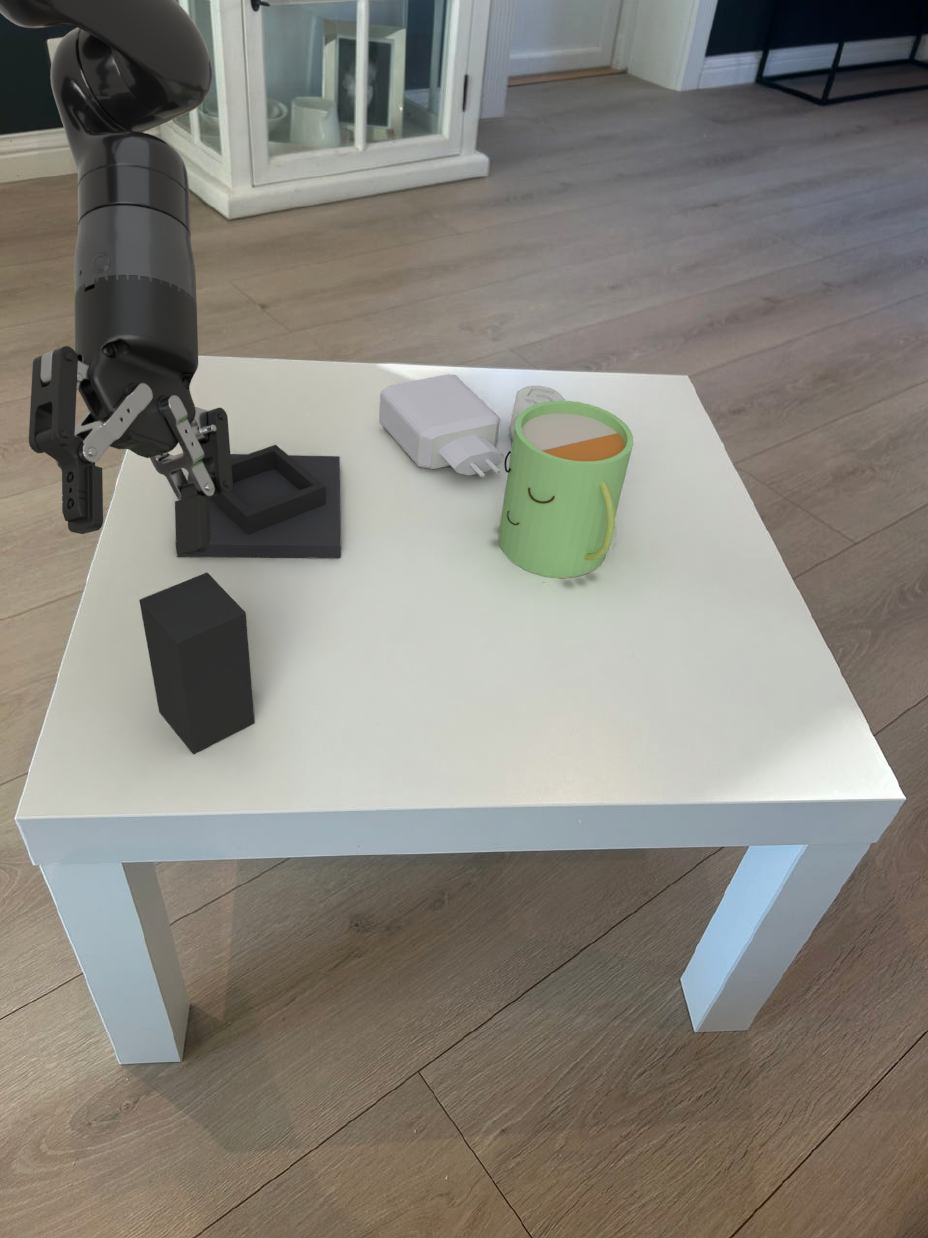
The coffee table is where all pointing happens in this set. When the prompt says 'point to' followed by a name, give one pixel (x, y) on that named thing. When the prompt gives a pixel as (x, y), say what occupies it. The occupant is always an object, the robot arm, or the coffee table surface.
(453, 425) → the charger
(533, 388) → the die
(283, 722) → the coffee table surface
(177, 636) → the tall black rectangular block
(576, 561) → the mug
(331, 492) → the base pad
